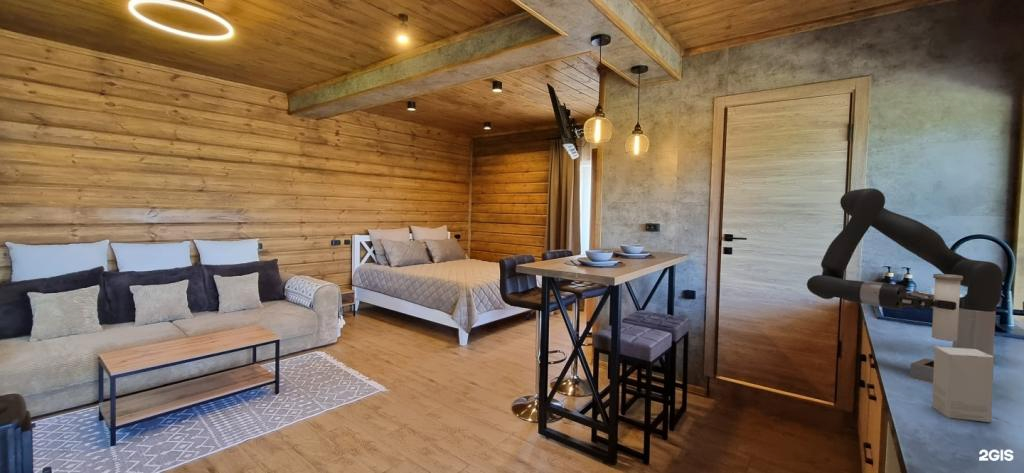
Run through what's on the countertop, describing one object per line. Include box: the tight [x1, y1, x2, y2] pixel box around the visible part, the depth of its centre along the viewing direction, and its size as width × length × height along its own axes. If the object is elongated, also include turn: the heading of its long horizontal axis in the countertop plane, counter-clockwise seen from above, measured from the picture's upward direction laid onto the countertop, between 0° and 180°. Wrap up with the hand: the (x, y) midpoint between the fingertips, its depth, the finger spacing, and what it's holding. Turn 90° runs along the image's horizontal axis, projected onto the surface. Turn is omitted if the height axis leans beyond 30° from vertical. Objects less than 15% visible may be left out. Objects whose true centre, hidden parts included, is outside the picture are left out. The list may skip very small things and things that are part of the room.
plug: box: [931, 273, 963, 342], centre depth 119 cm, size 6×6×18 cm
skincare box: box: [931, 345, 996, 423], centre depth 101 cm, size 8×7×16 cm
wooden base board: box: [908, 357, 934, 385], centre depth 123 cm, size 23×11×5 cm, turn 119°
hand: (959, 305), depth 117 cm, fingers closed on plug, 5 cm apart
